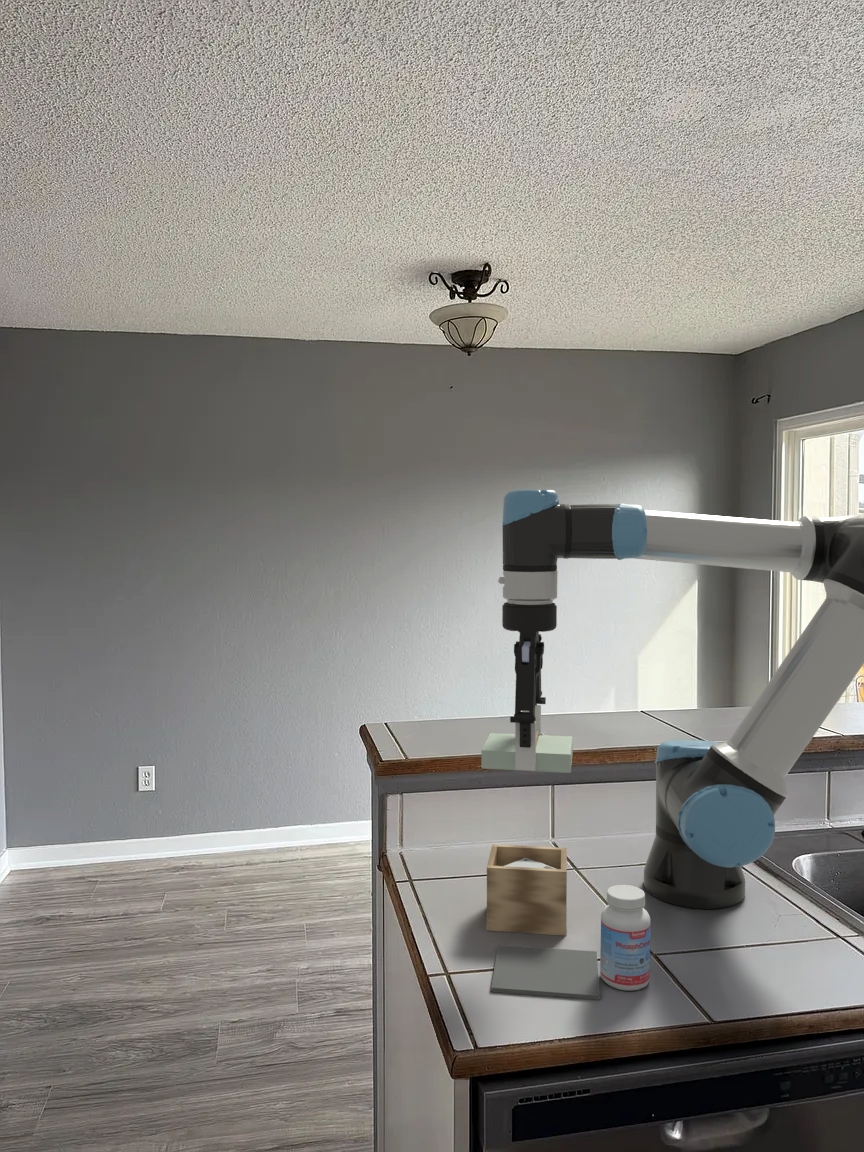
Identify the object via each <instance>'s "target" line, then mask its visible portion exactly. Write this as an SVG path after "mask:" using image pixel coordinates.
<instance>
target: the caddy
mask: <svg viewBox="0 0 864 1152" xmlns="http://www.w3.org/2000/svg"><path fill="white" fill-rule="evenodd" d="M567 850H568V848H567V847H556V846H554V847H553V846H536V845H535V846H534V845H516V844H515V845H513V844H499V843H498V844H495V843H492V845H491V849H490V852H489V853H490V854H489V857H488V862H487V865H486V931H490V932H491V931H492V932H506V933H507V932H508V933H521V934H537V935H538V934H540V935H550V936H551V935H553V936H567V912H568V911H567V903H568V902H567V895H568V894H567V893H568V892H567V883H568V881H567V880H568V879H567V877H568V876H567V875H568V873H567V872H568V870H567V868H568V866H567V865H568V862H567V861H568V857H567V855H568V851H567ZM523 858H529V859H531V860H534V861H538V862H541V863H544V864H546V865H548V866H550V867H553V868H556V869H545V868H526V867H508V866H505V865H508V864H511V863H513V862H516V861H518V860H521V859H523Z"/></svg>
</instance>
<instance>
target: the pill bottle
mask: <svg viewBox="0 0 864 1152" xmlns="http://www.w3.org/2000/svg"><path fill="white" fill-rule="evenodd" d="M606 901H607V905H606V906H605V907H604V908H603V909H602V911H601V913H600V948H599V950H600V954H599V957H600V959H599V961H600V962H599V969H600V970H599V973H600V975H599V976H600V978H601V979H602V981H604V983H606V984H607V985H608V986H610V987H612V988H614V989H617V990H621V991H628V992H629V991H631V992H633V991H638V990H642V989H643V988H645V987H647V986H648V984H649V983H650V980H651V979H650V977H651V976H650V974H651V916H650V914H649V912H648V911H647V910H646V909H645V906H646V893H645V891H644V890H643V889H641V888H640V887H637V886H635V885H629V884H616V885H612V886H610V887H609V888H607V891H606Z"/></svg>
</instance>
